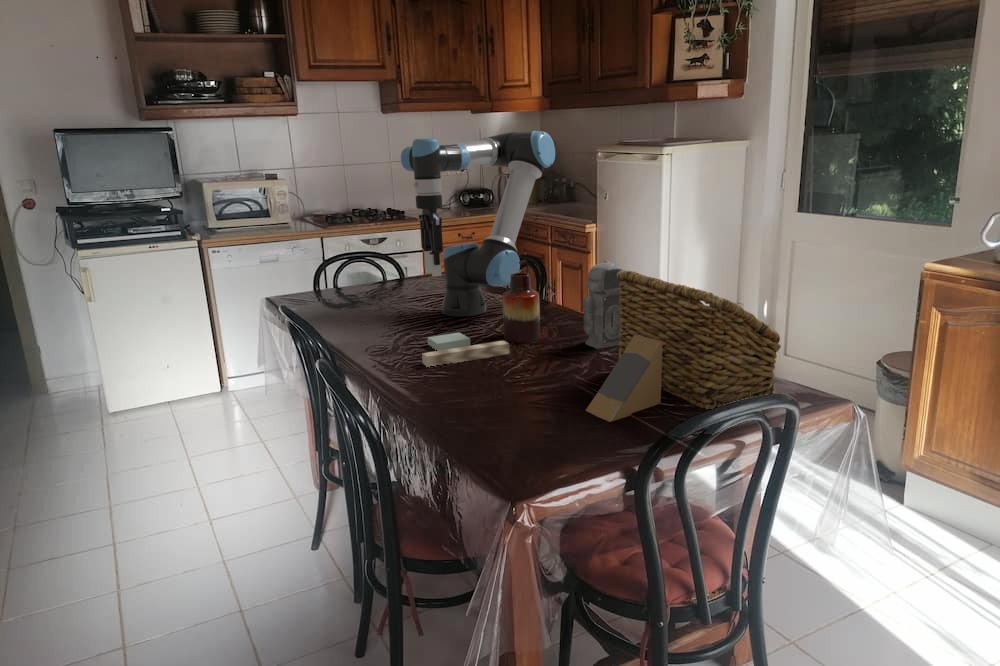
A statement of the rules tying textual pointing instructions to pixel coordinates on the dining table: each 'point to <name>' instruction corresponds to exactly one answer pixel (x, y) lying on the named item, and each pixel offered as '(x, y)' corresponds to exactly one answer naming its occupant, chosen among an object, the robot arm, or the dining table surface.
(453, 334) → the block
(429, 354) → the curved wooden bar
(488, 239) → the robot arm
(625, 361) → the sandwich container
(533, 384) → the dining table surface
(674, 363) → the basket
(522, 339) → the vase
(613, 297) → the figurine
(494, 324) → the dining table surface
